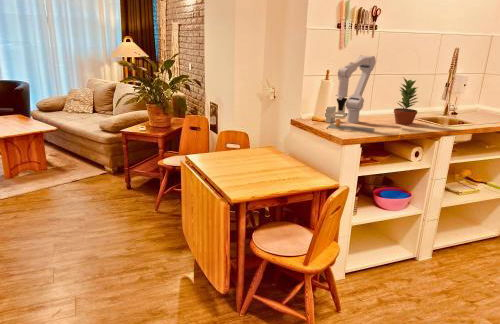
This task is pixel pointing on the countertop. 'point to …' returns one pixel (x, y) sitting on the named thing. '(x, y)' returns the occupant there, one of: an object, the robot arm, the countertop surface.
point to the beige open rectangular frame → (340, 114)
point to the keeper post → (337, 122)
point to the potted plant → (406, 105)
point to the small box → (330, 113)
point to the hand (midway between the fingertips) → (340, 110)
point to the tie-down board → (352, 128)
